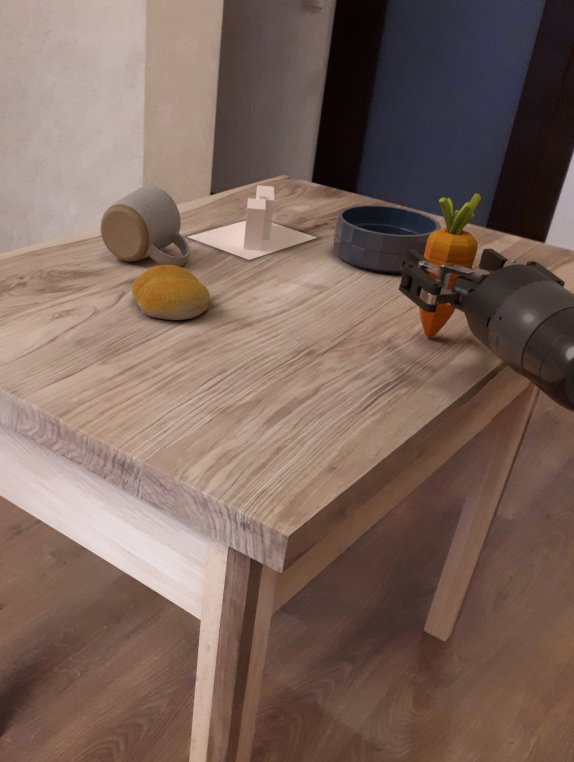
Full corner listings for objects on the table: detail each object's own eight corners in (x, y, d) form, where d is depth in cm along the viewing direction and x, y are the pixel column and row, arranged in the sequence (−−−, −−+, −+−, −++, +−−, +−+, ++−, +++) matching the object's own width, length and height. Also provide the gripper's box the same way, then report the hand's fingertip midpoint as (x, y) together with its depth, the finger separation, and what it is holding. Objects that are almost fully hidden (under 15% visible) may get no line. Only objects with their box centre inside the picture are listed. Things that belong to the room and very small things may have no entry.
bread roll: (148, 326, 83) (149, 289, 81) (125, 294, 90) (125, 259, 88) (221, 319, 86) (224, 283, 84) (193, 288, 93) (195, 254, 90)
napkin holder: (255, 217, 117) (259, 176, 113) (318, 237, 111) (324, 195, 108) (185, 237, 108) (188, 193, 104) (250, 260, 102) (255, 215, 98)
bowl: (386, 237, 113) (394, 201, 110) (453, 268, 104) (462, 230, 101) (312, 247, 107) (317, 209, 104) (375, 281, 98) (383, 241, 95)
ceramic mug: (95, 257, 99) (95, 193, 94) (129, 239, 105) (130, 179, 100) (170, 277, 96) (174, 212, 91) (200, 258, 102) (205, 196, 97)
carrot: (401, 341, 84) (434, 195, 75) (409, 324, 88) (442, 183, 79) (449, 351, 83) (488, 204, 74) (455, 334, 87) (493, 191, 78)
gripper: (619, 280, 67) (519, 220, 80) (468, 284, 64) (388, 221, 77) (589, 360, 72) (498, 292, 84) (445, 367, 69) (373, 295, 82)
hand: (445, 258), depth 81 cm, fingers open, 8 cm apart
